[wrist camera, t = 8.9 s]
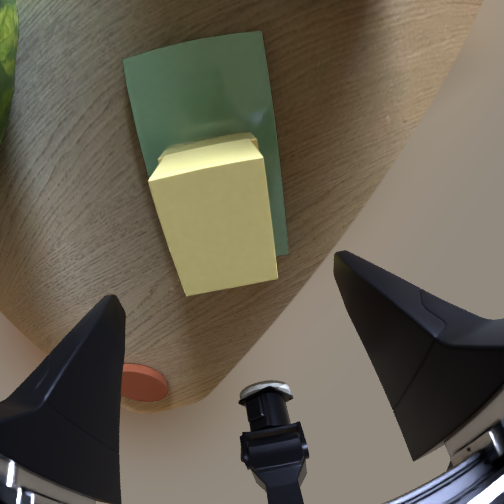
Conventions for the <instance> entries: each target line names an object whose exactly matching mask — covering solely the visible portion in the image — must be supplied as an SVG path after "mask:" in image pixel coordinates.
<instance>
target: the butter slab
mask: <svg viewBox="0 0 504 504" xmlns="http://www.w3.org/2000/svg"><path fill="white" fill-rule="evenodd" d="M148 184H149V188H150V191H151V195H152V198H153V201H154V205H155V208H156V211H157V214H158V217H159V221H160V224H161V227H162V230H163V233H164V236H165V239H166V242H167V245H168V248H169V251H170V254H171V257H172V259H173V262H174V265H175V268H176V271H177V273H178V276H179V279H180V282H181V284H182V287H183V290H184V292H185V295H186V296H191V295H197V294H202V293H208V292H213V291H219V290H224V289H229V288H235V287H240V286H245V285H250V284H256V283H261V282H266V281H271V280H276V279H278V271H277V262H276V253H275V245H274V236H273V228H272V219H271V211H270V203H269V195H268V187H267V179H266V172H265V164H264V158H263V156H262V155H261V153H260V152H259V151H258V150H257V148H256V147H255V146H254V144H253V143H252V142H251V140H250V139H249V138H248V139H242V140H236V141H230V142H225V143H219V144H214V145H209V146H204V147H200V148H195V149H190V150H186V151H182V152H177V153H173V154H169V155H165V156H164V158H163V159H162V161H161V162H160V164H159V165H158V167H157V168H156V169H155V171H154V172H153V174H152V175H151V177H150V179H149V180H148Z"/></svg>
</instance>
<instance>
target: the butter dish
mask: <svg viewBox="0 0 504 504" xmlns="http://www.w3.org/2000/svg"><path fill="white" fill-rule="evenodd" d="M122 62H123V68H124V73H125V79H126V84H127V89H128V94H129V99H130V103H131V108H132V113H133V117H134V121H135V126H136V130H137V134H138V138H139V142H140V146H141V150H142V154H143V158H144V162H145V166H146V169H147V173H148V176H149V179H150V177H151V175H152V174H153V172H154V171H155V169H156V168H157V167H158V165H159V164H160V162H161V161H162V159H163V158H164V156H165V155H169V154H173V153H177V152H182V151H186V150H190V149H195V148H200V147H204V146H209V145H214V144H219V143H225V142H230V141H236V140H242V139H248V138H249V139H250V140H251V142H252V143H253V144H254V146H255V147H256V148H257V150H258V151H259V152H260V153H261V155H262V156H263V158H264V164H265V172H266V179H267V187H268V195H269V203H270V211H271V219H272V228H273V236H274V245H275V253H276V256H281V255H286V254H289V252H288V240H287V228H286V217H285V206H284V196H283V186H282V177H281V168H280V159H279V150H278V142H277V133H276V125H275V117H274V110H273V102H272V95H271V88H270V81H269V74H268V67H267V61H266V54H265V48H264V42H263V36H262V31H253V32H243V33H234V34H227V35H220V36H214V37H208V38H202V39H197V40H192V41H187V42H183V43H178V44H174V45H170V46H166V47H162V48H159V49H155V50H152V51H148V52H145V53H141V54H138V55H135V56H132V57H129V58H126V59H123V60H122Z"/></svg>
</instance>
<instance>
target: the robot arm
mask: <svg viewBox="0 0 504 504" xmlns="http://www.w3.org/2000/svg"><path fill="white" fill-rule="evenodd" d="M334 277H335V280H336V283H337V285H338V288H339V291H340V293H341V296H342V299H343V301H344V304H345V307H346V309H347V312H348V314H349V316H350V318H351V320H352V322H353V324H354V326H355V328H356V331H357V333H358V335H359V337H360V339H361V341H362V343H363V345H364V347H365V349H366V351H367V353H368V356H369V358H370V360H371V362H372V364H373V366H374V368H375V371H376V373H377V375H378V377H379V380H380V382H381V384H382V386H383V388H384V391H385V393H386V395H387V398H388V400H389V402H390V404H391V407H392V409H393V410H394V411H393V412H394V414H395V417H396V419H397V422H398V424H399V426H400V429H401V431H402V434H403V437H404V439H405V442H406V444H407V447H408V449H409V452H410V455H411V457H412V459H413V461H416V460H418V459H420V458H422V457H423V456H425V455H427V454H429V453H431V452H433V451H435V450H436V449H438V448H440V447H441V446H443V445H445V446H446V449H447V451H448V453H449V455H450V460H451V461H450V463H449V466H448V469H447V471H446V472H444V473H442V474H441V475H439V476H437V477H436V478H434V479H432V480H430V481H429V482H427V483H425V484H423V485H421V486H419V487H417V488H415V489H413V490H411V491H409V492H407V493H405V494H403V495H401V496H399V497H397V498H394V499H392V500H390V501H387V502H385V503H383V504H504V319H498V320H490V319H485V318H482V317H479V316H477V315H475V314H473V313H470V312H468V311H466V310H464V309H461V308H459V307H457V306H455V305H453V304H450V303H448V302H446V301H444V300H442V299H440V298H438V297H436V296H434V295H432V294H430V293H428V292H426V291H424V290H423V289H420V288H419V287H417V286H415V285H413V284H411V283H409V282H407V281H405V280H404V279H401V278H400V277H398V276H396V275H394V274H392V273H390V272H388V271H386V270H384V269H382V268H380V267H378V266H376V265H374V264H372V263H370V262H368V261H366V260H364V259H362V258H360V257H358V256H356V255H354V254H352V253H350V252H348V251H346V250H344V251H339V252H336V253H335V254H334ZM125 322H126V314H125V311H124V309H123V307H122V305H121V303H120V301H119V300H118V298H117V296H116V295H114V294H113V295H107V296H104V297H103V298H102V299H101V300H100V301H99V302H98V303H97V304H96V305H95V306H94V307H93V308H92V309H91V310H90V311H89V312H88V313H87V314H86V315H85V316H84V317H83V318H82V319H81V321H80V322H79V323H78V324H77V325H76V326H75V327H74V328H73V329H72V330H71V331H70V332H69V333H68V334H67V335H66V336H65V337H64V338H63V339H62V341H61V342H60V343H59V344H58V345H57V346H56V347H55V348H54V349H53V350H52V351H51V353H50V355H48V356H47V357H46V358H45V359H44V360H43V361H42V363H41V364H40V365H39V366H38V367H37V368H36V369H35V370H34V371H33V372H32V373H31V374H30V375H29V377H27V379H26V380H25V381H24V382H23V383H22V384H21V385H20V386H19V387H18V388H17V389H16V390H15V391H14V392H13V393H12V394H11V395H10V396H9V397H8V398H6V399H5V400H3V401H1V402H0V504H95V502H96V501H99V502H104V503H109V504H121V490H120V466H119V423H120V401H121V387H122V375H123V364H124V354H125ZM291 399H293V396H292V395H290V394H288V393H286V392H283V391H281V390H279V389H277V388H274V387H272V386H267V387H265V388H263V389H261V390H259V391H257V392H255V393H253V394H251V395H249V396H247V397H245V398H243V399H241V400H239V401H238V403H239V404H240V405H242V406H245V407H246V410H247V416H248V421H249V423H250V430H251V432H243V433H242V436H240V442H241V461H242V462H244V463H245V465H246V466H247V469H248V470H249V469H251V471H252V473H253V476H254V478H255V480H256V483H257V484H258V485H259V486H260V487H262V488H263V489H264V490H265V491H266V492H267V498H268V504H304V502H303V498H302V495H301V490H300V486H301V484H302V482H303V480H304V478H305V476H306V474H307V472H306V471H307V470H306V460H305V459H308V458H309V452H308V447H307V444H306V440H305V437H304V433H303V430H302V427H301V423H300V422H296V423H293V424H291V423H290V419H289V415H288V411H287V406H286V402H287V401H289V400H291Z"/></svg>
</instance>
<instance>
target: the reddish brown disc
mask: <svg viewBox="0 0 504 504" xmlns="http://www.w3.org/2000/svg"><path fill="white" fill-rule="evenodd" d="M168 391H169V382H168V380H167V379H166V377H165V376H164V375H163V374H161V373H160V372H158V371H156V370H154V369H152V368H150V367H147V366H143V365H138V364H123V375H122V387H121V395H122V396H124V397H127V398H130V399H133V400H137V401H144V402H153V401H159V400H162V399H164V398H165V397H166V396H167V395H168Z"/></svg>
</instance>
